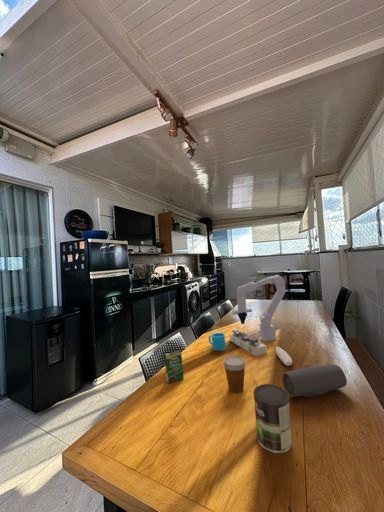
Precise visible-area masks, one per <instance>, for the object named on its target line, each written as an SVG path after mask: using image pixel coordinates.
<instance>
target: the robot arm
mask: <svg viewBox="0 0 384 512" xmlns="http://www.w3.org/2000/svg"><path fill="white" fill-rule="evenodd" d="M267 284H270V285H275V288H276V292H275V294H274V296H273V297H272V299H271V301H270V303H269V304H268V306H267V308H266V310H265V311H264V312H263V313H262V314H261V315H260V316H259V320H260V324H259V330H260V331H259V332H260V336H258V337H257V338H258V340H261V341H263V342H265V343H267V342H271V341H275V340H277V334H276V327H275V326H274V325H273V324H271V323H272V318H273V315H274V314H275V312H276V310H277V308H278V306H279V304H280V303H281V301H282V299H283V298H284V295H285V294H286V293H287V292H286V291H287V290H286V281H285V279H284V278H283V277H282V276H280V275H279V274H276V275H275V274H274V276H273V275H272V276H268V277H265V278H264V279H261V280H259V281H256V282H254V281H249V282H248V283H246V284H242V285H240V286H238V287H237V288H236V296H237V297H236V301H237V310H233V311H232V312H231V314H232V315H233V316H234V315H237V316H238V318H239V320H240V323H241V325H245V322H246V319H247V317H248V313H252V312H253V311H252V310H253V308H252V309H251V308H247V300H246V299H247V297H246V294H248V293H250V292H254V291H256V290H257V288H259V287H262V286H265V285H267Z"/></svg>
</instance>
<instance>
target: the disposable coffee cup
mask: <svg viewBox="0 0 384 512" xmlns="http://www.w3.org/2000/svg"><path fill="white" fill-rule="evenodd" d="M222 364H223V367H224V369H225V375H226V376H225V377H226V381H227V386H228V390H229V391H230V392H231V393H235V394H239V393H242V392H244V388H245V385H244V384H245V372H246V371H245V370H246V369H245V367H246V361H245V359H244V358H242V357H240V356H234V355H233V356H228V357H226V358H224V360H223V363H222Z"/></svg>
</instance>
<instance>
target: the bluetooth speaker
mask: <svg viewBox="0 0 384 512" xmlns="http://www.w3.org/2000/svg"><path fill="white" fill-rule="evenodd" d="M281 381H282V385H283V389H284V390H285V391H286V392H287V393H288V395H289V397H293V398H294V397H305V398H310V397H318V396H322V395H326V394H328V392H331V391H334V390H338V389H342V388H343V387H346V386H347V384H348V383H347V382H348V381H347V377H346V374H345V372H344V370H343V369H342V368H341V366H339V365H337V364H324V365H316V366H315V365H314V366H309V367H305V368H299V369H294V370H290V371H285V372H284V373H282V379H281Z"/></svg>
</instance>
